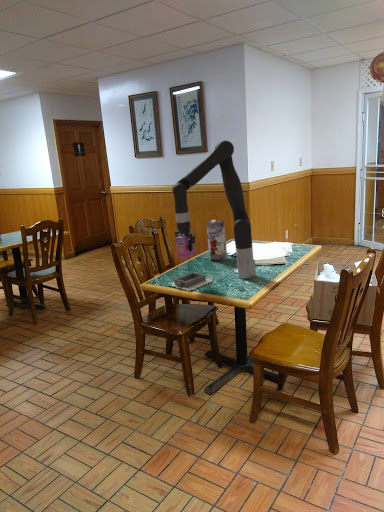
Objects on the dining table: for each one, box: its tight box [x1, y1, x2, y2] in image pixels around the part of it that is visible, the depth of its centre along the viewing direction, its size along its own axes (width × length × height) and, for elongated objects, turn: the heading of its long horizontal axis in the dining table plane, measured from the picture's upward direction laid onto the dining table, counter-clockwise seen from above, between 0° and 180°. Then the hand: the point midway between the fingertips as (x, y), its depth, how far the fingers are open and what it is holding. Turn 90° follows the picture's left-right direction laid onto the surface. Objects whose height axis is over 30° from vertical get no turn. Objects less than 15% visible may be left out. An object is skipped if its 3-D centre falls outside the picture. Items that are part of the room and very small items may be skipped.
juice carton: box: [205, 219, 228, 262], centre depth 259 cm, size 9×10×27 cm
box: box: [175, 236, 197, 260], centre depth 217 cm, size 10×6×12 cm, turn 146°
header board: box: [170, 271, 214, 290], centre depth 222 cm, size 18×18×4 cm
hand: (186, 250), depth 217 cm, fingers closed on box, 6 cm apart
